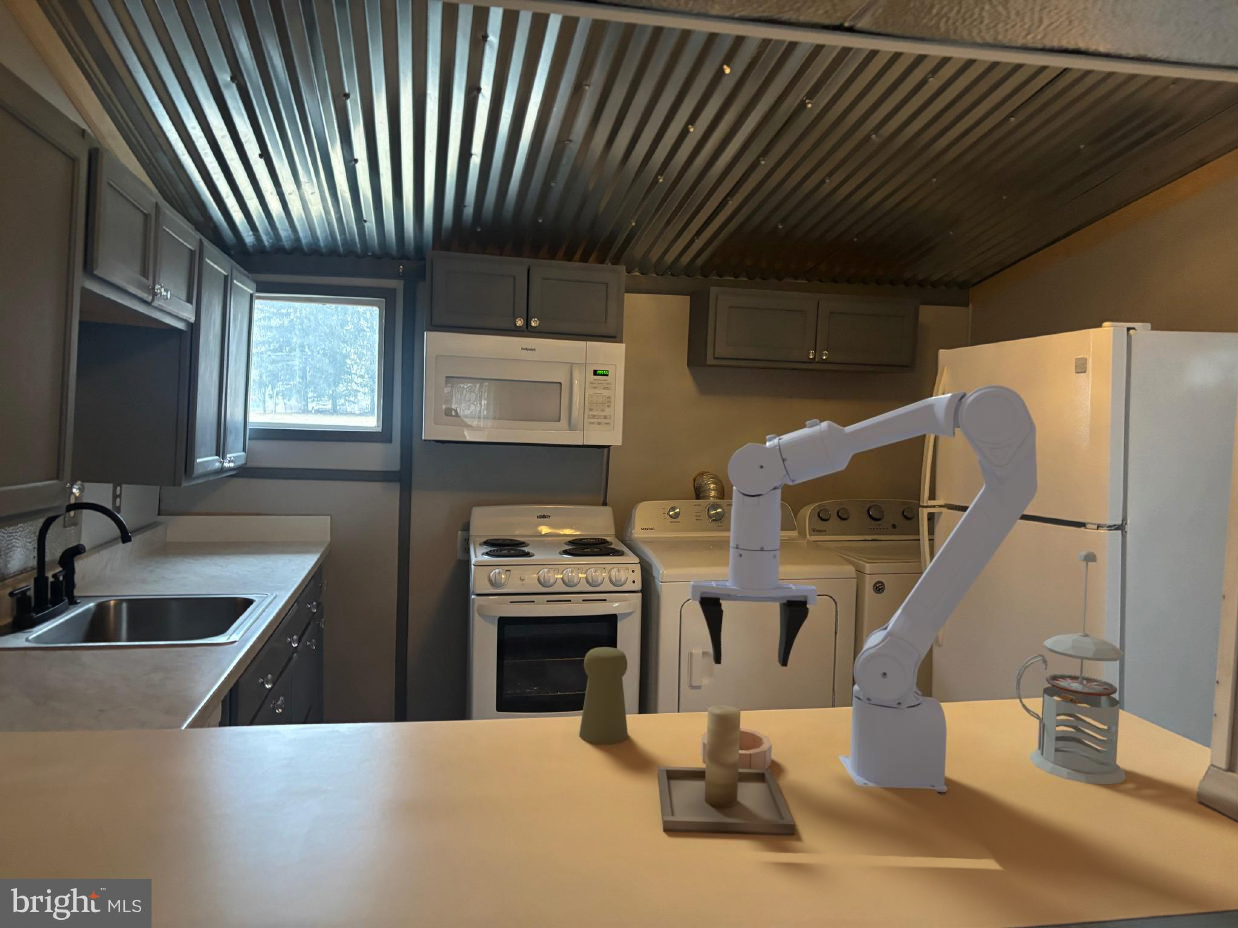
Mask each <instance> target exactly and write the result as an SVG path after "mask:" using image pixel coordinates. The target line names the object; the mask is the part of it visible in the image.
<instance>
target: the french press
mask: <svg viewBox="0 0 1238 928" xmlns="http://www.w3.org/2000/svg"><path fill="white" fill-rule="evenodd" d="M1077 560H1078V561H1079V562H1085V575H1084V576H1085V577H1084V578H1085V579H1084V594H1083V595H1084V596H1083V597H1084V598H1083V611H1082V612H1083V615H1082V619H1083V620H1082V632H1079V633H1068V634H1067V633H1066V634H1060V635H1055V636H1052V637H1050V638H1048V639H1046V640H1045V641H1043V647H1044V649H1046V650H1047V651H1048V652H1050V653H1053V654H1055V655H1058V656H1059V655H1060V656H1063V657H1069V658H1073V659H1079V660H1080V673H1079V674H1077V673H1074V674H1073V673H1071V674H1070V673H1065V672H1063V673H1053V674H1050V675H1047V676H1046V678H1045V680H1046V682H1047V684H1048V685H1050V686H1047V687H1046V686H1045V687H1044V688H1043V690H1042V705H1041V716H1040V714H1038V713H1037V712H1035V711H1034V710H1032V709H1030V708H1028V706H1027V705H1026V704H1025V703H1024V701H1023V700H1022V696H1021V695H1022V694H1021V691H1020V690H1021V680H1022V678H1023V676H1024V673H1025V671H1026V670H1027V669H1029V667H1030V666H1032V665H1033V664H1034V663H1036V662H1040V661H1041V660H1042V663H1041V665H1042V667H1043V669H1044V670H1045V671H1046V670H1047V669H1048V660H1047V658H1046V657H1045V656H1044V655H1043V654H1040V653H1039V654H1036V655H1033V656H1030V657H1027V659H1026V660H1025V661H1023V662H1022V663H1021V665H1020V666H1019V668H1018V669H1017V672H1016V675H1015V684H1014V689H1015V691H1016V696H1017V699H1018V701H1019V703H1020V704H1021V707H1022V709H1023V710H1024V711H1025V712H1026V713H1027V714H1028V715H1029V716H1031V717H1033V718H1035V719H1036V720H1038V734H1037V735H1038V736H1037V737H1038V739H1037V743H1038V744H1037V749H1035V750H1034V751H1032V752H1031V753H1030V755H1029V760H1030V761H1031V762H1032V764H1033V765H1034V766H1035V767H1037V768H1040V769H1041V770H1043V771H1045V772H1046V773H1049V774H1051V775H1055V776H1058V777H1059V778H1064V779H1065V780H1069V781H1074V782H1075V781H1076V782H1080V783H1085V784H1094V785H1095V784H1096V785H1112V784H1113V785H1114V784H1121V783H1122V782H1124V781H1126V780H1127V776H1126V772H1125V771H1124V769H1123V768H1122V767H1121V766H1120V765H1119V764H1118V763H1117V759H1118V758H1117V756H1118V741H1119V740H1118V738H1119V722H1120V706H1121V705H1120V700H1119V699H1117V698H1115V697H1113V696H1112V695H1116V693H1117V692H1118V687H1117V686H1115V685H1114V684H1112V683H1111V682H1108V681H1105V680H1103V679H1101V678H1096V679H1095V677H1092V676H1090V677H1089V676H1086V675H1084V676H1083V667H1084V661H1085V660H1086V661H1093V662H1117V661H1121V660H1122V659H1123V658H1124V655H1125V654H1124V651H1122V650H1121V649H1120V648H1118V647H1117V646H1116V645H1114V644H1113V643H1112V642H1110V641H1108V640H1105V639H1103V638H1100V637H1097V636H1094V635H1089V634H1088V633H1085V632H1086V631H1085V629H1086V627H1085V625H1086V610H1087V609H1086V608H1087V592H1088V591H1087V588H1088V587H1087V585H1088V572H1089V571H1088V568H1089V563H1097V560H1098V559H1097V555H1096V553H1095V552H1093V551H1090V550H1084V551H1081V552H1080V553H1079V554H1078V559H1077ZM1038 657H1039V658H1038ZM1035 658H1037V659H1035ZM1032 659H1034V660H1032ZM1028 662H1029V663H1028ZM1027 663H1028V664H1027ZM1060 695H1066V696H1070V697H1073V698H1075V699H1076V700H1079V701H1080V702H1082V703H1083V704H1085V705H1086V706H1085V705H1079V704H1077V703H1075V702H1074V701H1071V700H1067V699H1064V698H1063V699H1056V698H1054V697H1056V696H1060ZM1062 716H1063V717H1066V718H1057V717H1062ZM1081 716H1082V717H1081ZM1083 717H1084V718H1087V719H1090V720H1092V721H1093V722H1096V723H1098V724H1100V725H1102V726H1103V727H1099V726H1097V725H1095V724H1094V723H1091V722H1090V721H1087V720H1086V719H1084V718H1083ZM1060 727H1064V728H1068V729H1057V728H1060ZM1104 727H1106V728H1104ZM1069 729H1071V730H1069ZM1086 730H1087V731H1086ZM1088 731H1089V732H1088ZM1090 732H1091V733H1093V734H1095V735H1093V734H1091V733H1090ZM1096 735H1097V736H1096ZM1098 736H1099V737H1101V738H1099V737H1098Z"/></svg>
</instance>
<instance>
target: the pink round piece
mask: <svg viewBox="0 0 1238 928" xmlns="http://www.w3.org/2000/svg"><path fill="white" fill-rule="evenodd" d="M700 742H701V744H700V745H701V746H700V756H701V760H702V762H703V763H704V764H705V765H706V746H707V731H705V732H704V733H703V734H702V735H701V741H700ZM772 748H773V744H772V741H771V739H770V737H769V736H766V734H763V733H761V732H760V731H756V730H752V729H748V728H743V727H740V740H739V767H738V769H766V770H768V768H769V767H770V766H771V765H772Z"/></svg>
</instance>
